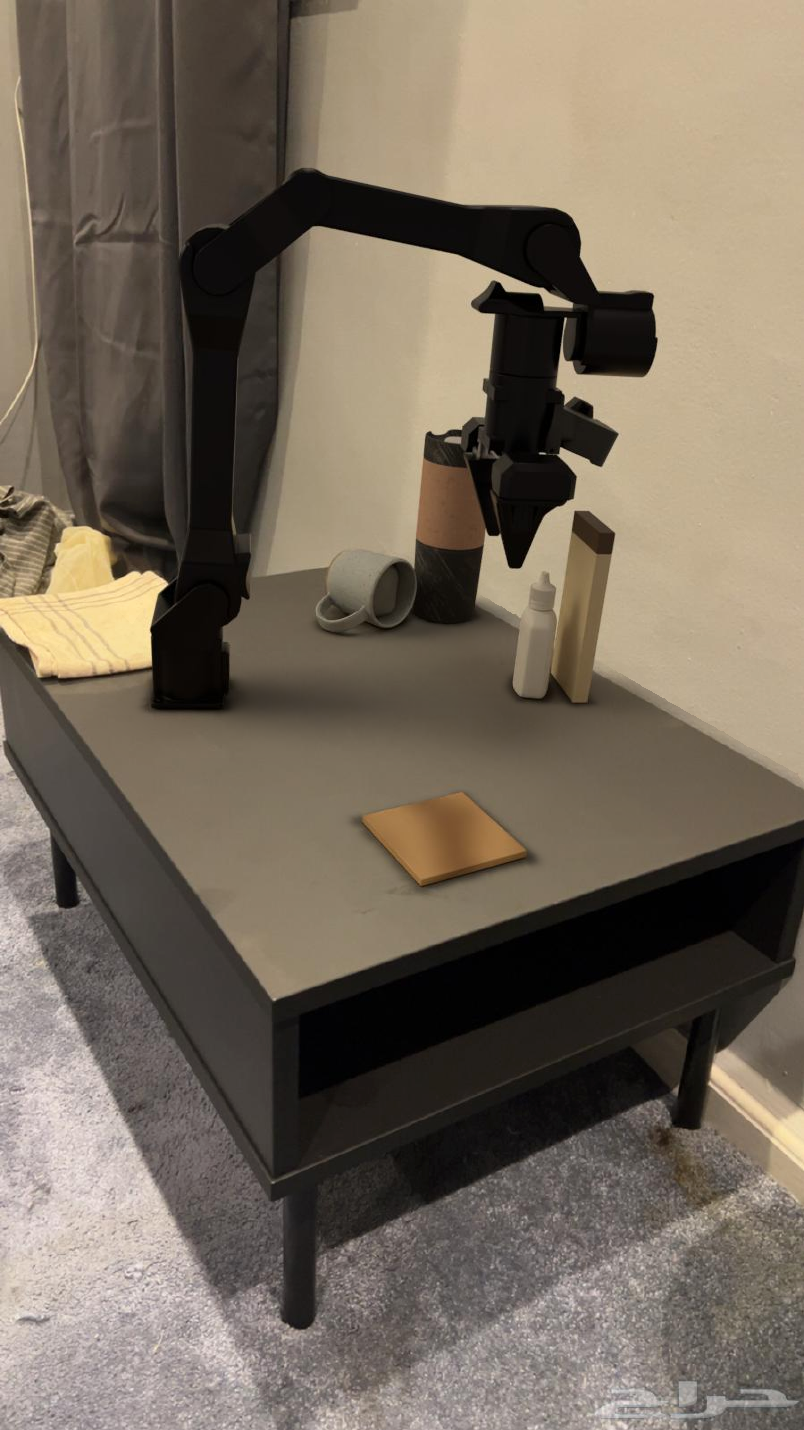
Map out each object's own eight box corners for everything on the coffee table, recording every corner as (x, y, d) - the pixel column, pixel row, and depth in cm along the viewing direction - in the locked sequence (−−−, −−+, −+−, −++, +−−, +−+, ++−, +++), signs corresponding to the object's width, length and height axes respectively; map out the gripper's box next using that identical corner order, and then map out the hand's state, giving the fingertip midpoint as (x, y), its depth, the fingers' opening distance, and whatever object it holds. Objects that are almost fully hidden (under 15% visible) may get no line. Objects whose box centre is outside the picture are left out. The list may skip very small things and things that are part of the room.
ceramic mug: (362, 598, 123) (365, 535, 119) (416, 618, 118) (420, 553, 115) (297, 622, 115) (298, 555, 112) (352, 644, 111) (354, 575, 107)
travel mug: (472, 628, 117) (492, 447, 108) (404, 619, 118) (419, 439, 109) (479, 604, 124) (498, 433, 115) (415, 596, 125) (429, 425, 116)
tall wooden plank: (572, 703, 102) (599, 532, 94) (550, 672, 108) (574, 510, 100) (587, 702, 102) (615, 533, 94) (564, 672, 108) (589, 510, 100)
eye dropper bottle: (561, 685, 105) (579, 570, 100) (536, 703, 101) (553, 585, 95) (522, 672, 107) (537, 560, 102) (496, 690, 103) (511, 574, 97)
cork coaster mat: (421, 886, 73) (421, 879, 73) (362, 821, 80) (362, 815, 80) (526, 857, 77) (527, 850, 77) (461, 798, 84) (462, 791, 84)
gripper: (652, 397, 81) (621, 588, 88) (585, 359, 97) (563, 523, 104) (511, 391, 79) (490, 586, 86) (467, 353, 96) (452, 520, 103)
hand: (503, 551), depth 95 cm, fingers open, 9 cm apart
